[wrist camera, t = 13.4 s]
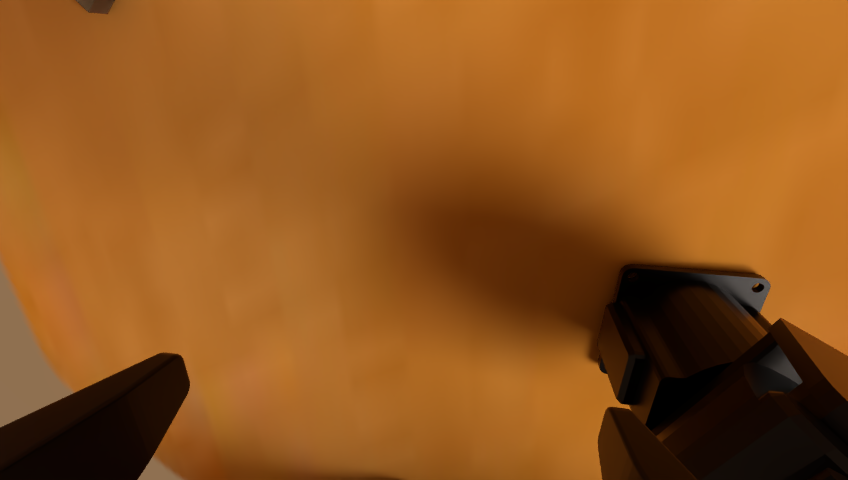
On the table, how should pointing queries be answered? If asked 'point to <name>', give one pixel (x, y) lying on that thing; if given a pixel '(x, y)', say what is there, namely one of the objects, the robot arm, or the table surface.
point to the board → (96, 5)
